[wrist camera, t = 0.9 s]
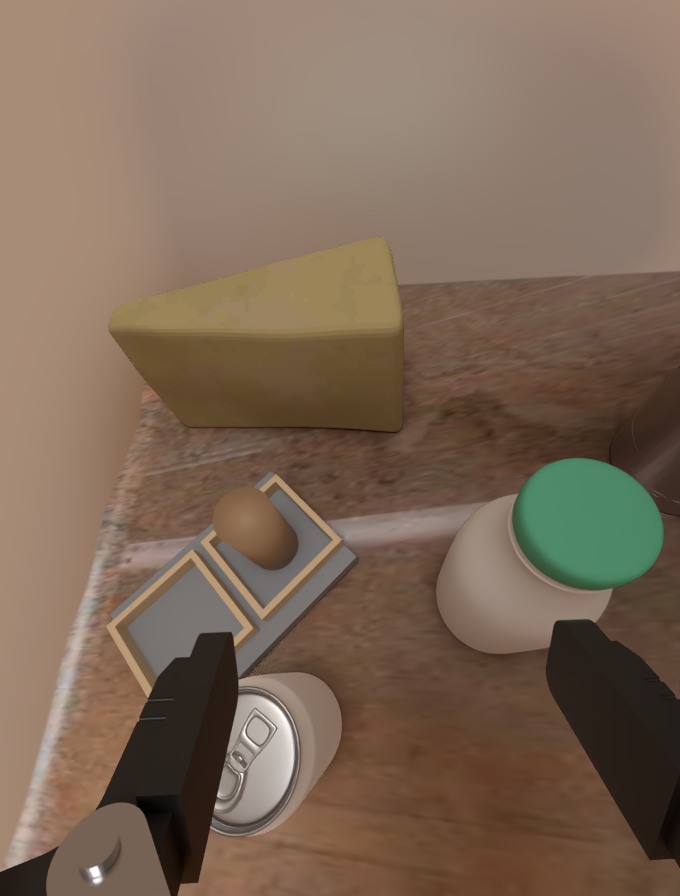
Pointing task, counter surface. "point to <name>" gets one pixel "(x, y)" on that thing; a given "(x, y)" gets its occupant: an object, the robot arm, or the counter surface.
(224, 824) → the can
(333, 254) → the cheese
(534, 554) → the milk bottle
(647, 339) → the counter surface
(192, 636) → the socket board
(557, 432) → the counter surface
